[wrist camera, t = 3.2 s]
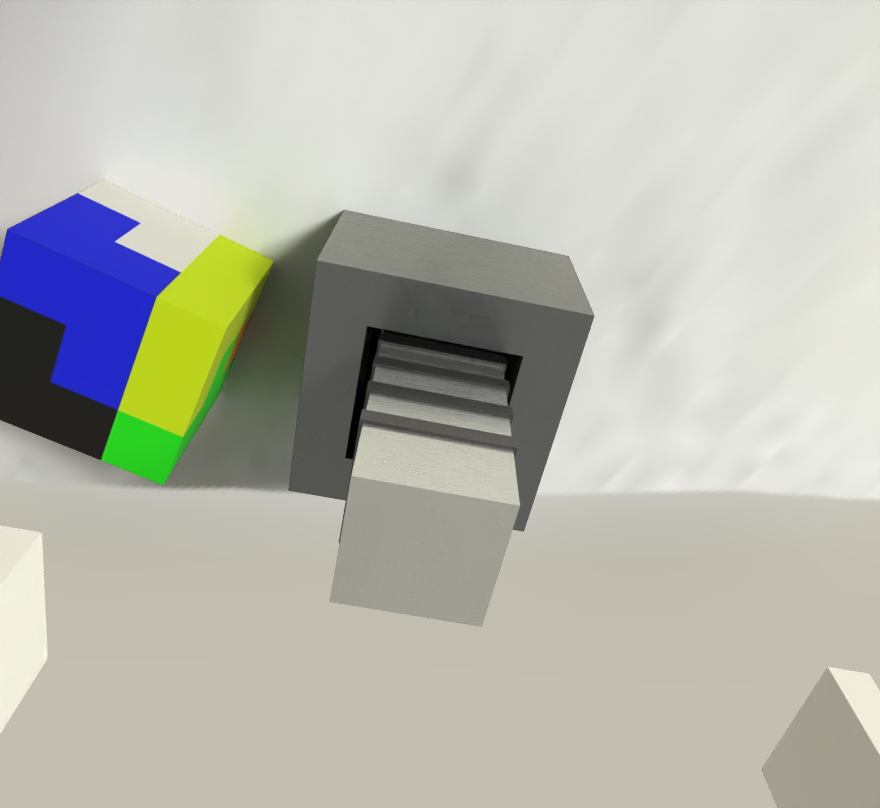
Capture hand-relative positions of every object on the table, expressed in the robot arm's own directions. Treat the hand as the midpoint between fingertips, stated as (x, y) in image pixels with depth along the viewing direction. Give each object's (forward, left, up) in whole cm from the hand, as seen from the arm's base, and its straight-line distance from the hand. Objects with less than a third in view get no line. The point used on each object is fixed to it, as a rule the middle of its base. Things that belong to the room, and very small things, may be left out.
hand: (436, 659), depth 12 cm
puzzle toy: (-6, -17, -32) cm, 37 cm away
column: (+6, -6, -32) cm, 33 cm away
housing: (+6, -6, -32) cm, 33 cm away
